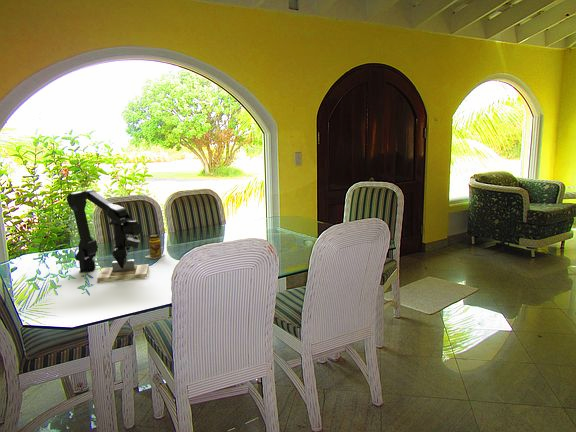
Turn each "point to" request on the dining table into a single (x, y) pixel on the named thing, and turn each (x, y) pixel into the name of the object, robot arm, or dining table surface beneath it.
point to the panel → (128, 266)
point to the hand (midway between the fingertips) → (123, 265)
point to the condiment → (154, 247)
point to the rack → (123, 273)
